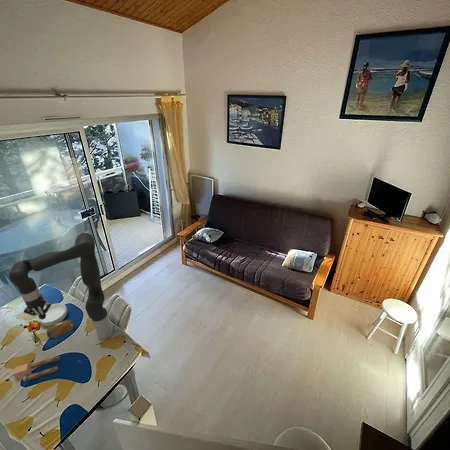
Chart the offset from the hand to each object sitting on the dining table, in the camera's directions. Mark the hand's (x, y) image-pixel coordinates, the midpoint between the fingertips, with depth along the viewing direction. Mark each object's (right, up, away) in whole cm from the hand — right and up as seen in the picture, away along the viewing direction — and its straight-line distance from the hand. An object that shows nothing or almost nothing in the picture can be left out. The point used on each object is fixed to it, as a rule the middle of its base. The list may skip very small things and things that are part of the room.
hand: (43, 318), depth 136 cm
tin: (-6, -19, +25) cm, 32 cm away
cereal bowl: (-17, -14, +34) cm, 40 cm away
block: (-11, -32, +1) cm, 35 cm away
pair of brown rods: (-3, -31, +4) cm, 31 cm away
